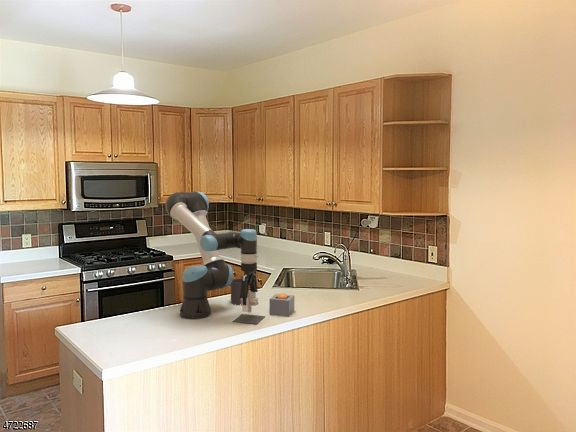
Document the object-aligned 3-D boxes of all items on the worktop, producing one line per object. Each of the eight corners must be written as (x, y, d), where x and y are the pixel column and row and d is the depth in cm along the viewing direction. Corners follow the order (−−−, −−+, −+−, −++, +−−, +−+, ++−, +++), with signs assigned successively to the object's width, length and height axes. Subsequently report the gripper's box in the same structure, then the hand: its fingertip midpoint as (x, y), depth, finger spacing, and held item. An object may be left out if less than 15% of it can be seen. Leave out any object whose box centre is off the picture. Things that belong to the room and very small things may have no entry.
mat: (232, 322, 230) (232, 321, 230) (241, 314, 241) (241, 313, 241) (256, 324, 227) (256, 323, 227) (264, 317, 238) (264, 316, 238)
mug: (237, 306, 257) (237, 283, 255) (227, 302, 263) (227, 280, 262) (257, 301, 266) (257, 279, 265) (247, 297, 273) (247, 276, 271)
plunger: (275, 300, 243) (275, 295, 242) (278, 298, 248) (278, 293, 247) (285, 301, 241) (285, 296, 241) (288, 298, 246) (288, 293, 246)
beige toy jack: (249, 307, 241) (249, 287, 240) (264, 311, 234) (264, 291, 233) (234, 312, 233) (234, 291, 232) (249, 316, 227) (249, 295, 226)
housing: (269, 314, 242) (269, 298, 241) (275, 309, 251) (275, 293, 250) (289, 316, 239) (289, 300, 238) (294, 310, 249) (294, 295, 248)
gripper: (248, 267, 219) (248, 315, 222) (264, 258, 241) (264, 302, 243) (232, 266, 222) (232, 314, 224) (249, 257, 243) (249, 301, 245)
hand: (249, 308), depth 233 cm, fingers closed on beige toy jack, 10 cm apart
